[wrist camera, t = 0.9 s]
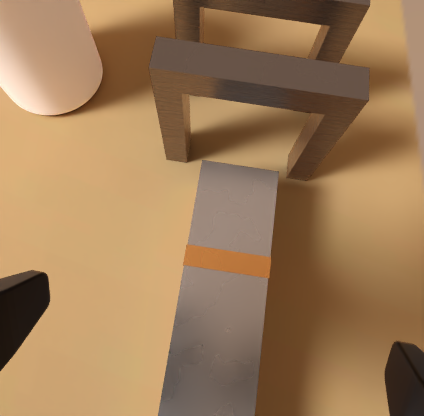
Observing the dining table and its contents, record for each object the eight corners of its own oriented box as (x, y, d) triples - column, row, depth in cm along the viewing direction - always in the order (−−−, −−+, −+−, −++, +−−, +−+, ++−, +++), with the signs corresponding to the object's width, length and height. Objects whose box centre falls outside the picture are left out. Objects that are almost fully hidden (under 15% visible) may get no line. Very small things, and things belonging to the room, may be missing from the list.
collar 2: (306, 180, 22) (368, 100, 14) (166, 159, 23) (148, 67, 14) (308, 158, 23) (369, 67, 15) (171, 137, 23) (156, 36, 15)
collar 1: (311, 113, 24) (370, 5, 16) (180, 93, 24) (171, -24, 16) (312, 93, 24) (370, -21, 16) (184, 74, 25) (177, -50, 16)
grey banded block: (226, 555, 17) (235, 625, 13) (141, 541, 17) (123, 607, 13) (265, 197, 22) (279, 171, 18) (201, 187, 22) (201, 159, 18)
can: (118, 52, 25) (51, -175, 14) (82, 130, 23) (-31, -58, 12) (32, 29, 25) (-104, -211, 14) (-10, 104, 23) (-209, -104, 12)
